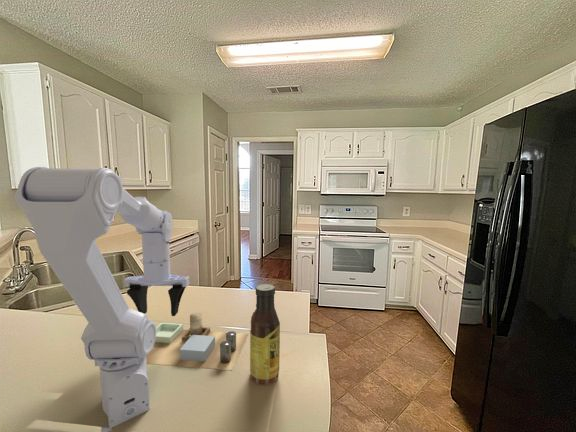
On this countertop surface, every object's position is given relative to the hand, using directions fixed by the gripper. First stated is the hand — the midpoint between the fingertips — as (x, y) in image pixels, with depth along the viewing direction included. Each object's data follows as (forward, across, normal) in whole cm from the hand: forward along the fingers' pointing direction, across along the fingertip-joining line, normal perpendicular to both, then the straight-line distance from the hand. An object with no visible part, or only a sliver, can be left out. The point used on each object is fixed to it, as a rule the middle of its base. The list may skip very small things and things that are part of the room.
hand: (159, 314), depth 62 cm
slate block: (+9, -10, +2) cm, 13 cm away
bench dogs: (+9, -17, +3) cm, 20 cm away
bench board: (+9, -8, 0) cm, 12 cm away
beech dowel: (+9, -7, -5) cm, 12 cm away
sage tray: (+9, +1, -5) cm, 10 cm away
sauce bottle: (+10, -26, +9) cm, 30 cm away
